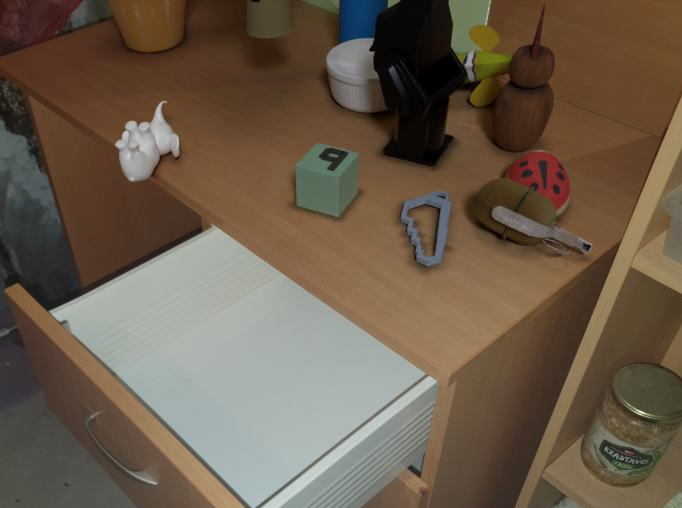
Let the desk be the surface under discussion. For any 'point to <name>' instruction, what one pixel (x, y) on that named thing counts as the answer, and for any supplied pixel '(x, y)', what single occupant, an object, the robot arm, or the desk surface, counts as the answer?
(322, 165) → the letter block
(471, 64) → the fish toy
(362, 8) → the beverage can
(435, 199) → the key tool
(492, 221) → the grenade
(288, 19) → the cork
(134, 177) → the elephant figurine
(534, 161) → the ladybug figurine
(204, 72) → the desk surface
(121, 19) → the flower pot
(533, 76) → the wooden figurine
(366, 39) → the ramekin
